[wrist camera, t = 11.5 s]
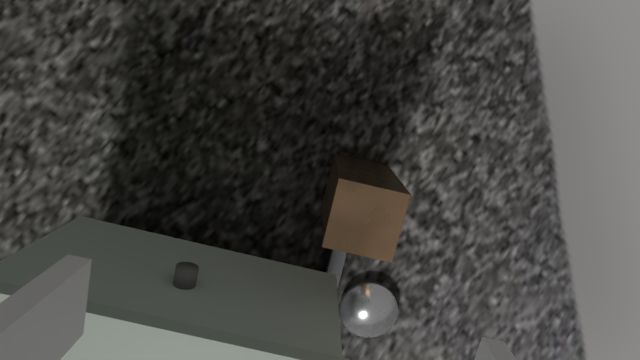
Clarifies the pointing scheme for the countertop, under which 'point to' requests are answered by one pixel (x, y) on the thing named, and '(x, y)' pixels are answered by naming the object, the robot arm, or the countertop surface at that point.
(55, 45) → the countertop surface
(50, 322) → the robot arm
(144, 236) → the cabinet
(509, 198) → the countertop surface
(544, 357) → the countertop surface
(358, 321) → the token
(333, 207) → the block
